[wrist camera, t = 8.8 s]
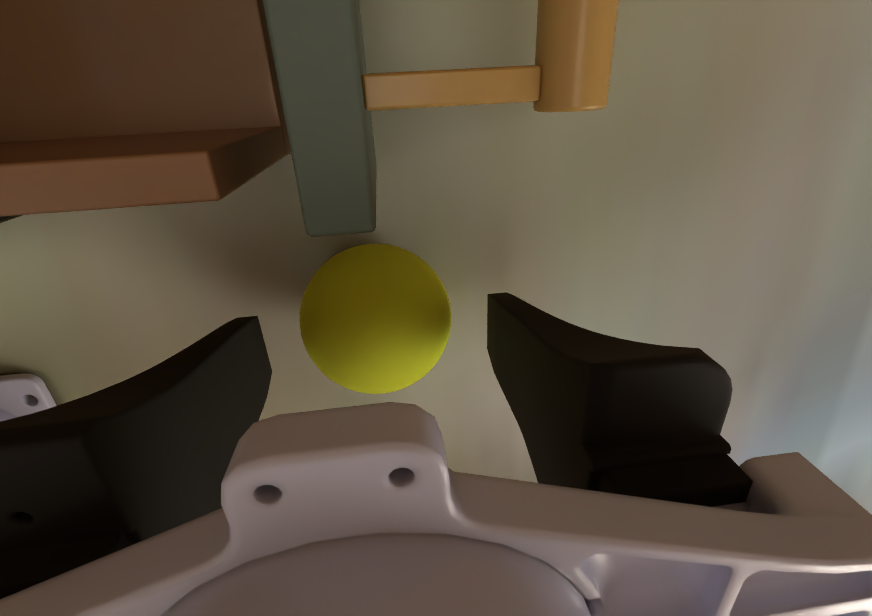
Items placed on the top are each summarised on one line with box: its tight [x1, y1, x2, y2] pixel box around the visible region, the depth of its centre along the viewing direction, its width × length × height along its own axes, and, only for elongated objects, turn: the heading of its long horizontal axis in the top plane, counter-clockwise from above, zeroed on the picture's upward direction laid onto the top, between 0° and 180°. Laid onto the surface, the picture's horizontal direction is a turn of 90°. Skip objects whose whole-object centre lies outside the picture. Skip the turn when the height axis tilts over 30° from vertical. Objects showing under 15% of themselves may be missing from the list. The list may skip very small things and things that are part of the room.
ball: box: [300, 244, 451, 394], centre depth 15 cm, size 5×5×5 cm
